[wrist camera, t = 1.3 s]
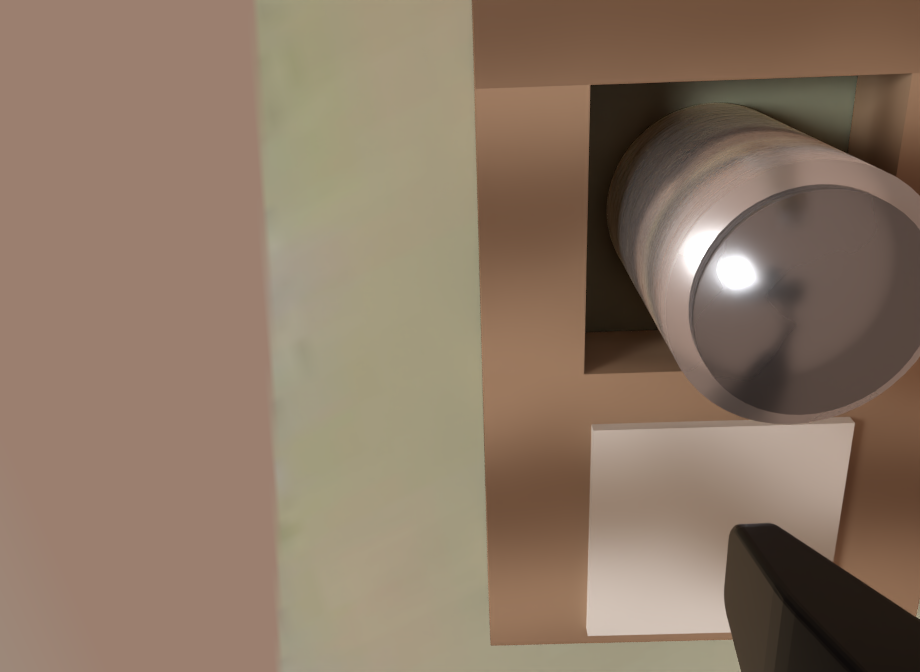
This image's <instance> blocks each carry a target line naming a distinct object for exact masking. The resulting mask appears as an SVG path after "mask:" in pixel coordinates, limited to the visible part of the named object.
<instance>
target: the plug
mask: <svg viewBox="0 0 920 672" xmlns="http://www.w3.org/2000/svg"><path fill="white" fill-rule="evenodd" d="M606 209H607V224H608V230H609V234H610V238H611V241H612V244H613V246H614V248H615V250H616V252H617V254H618V256H619V258H620V260H621V262H622V264H623V265H624V267H625V269H626V271H627V273H628V274H629V276H630V278H631V280H632V282H633V284H634V285H635V287H636V289H637V291H638V293H639V295H640V296H641V298H642V300H643V302H644V304H645V305H646V307H647V309H648V311H649V313H650V315H651V316H652V318H653V320H654V322H655V324H656V325H657V327H658V329H659V331H660V333H661V335H662V336H663V338H664V340H665V342H666V344H667V345H668V347H669V349H670V351H671V353H672V355H673V356H674V358H675V360H676V362H677V364H678V366H679V367H680V369H681V370H682V372H683V373H684V375H685V376H686V378H687V379H688V381H689V382H690V383H691V384H692V385H693V386H694V387H695V388H696V389H697V390H698V391H699V392H700V393H701V394H702V395H703V396H705V397H706V398H707V399H708V400H710V401H711V402H712V403H714V404H716V405H717V406H719V407H721V408H722V409H724V410H726V411H728V412H731V413H733V414H735V415H738V416H740V417H743V418H747V419H750V420H754V421H758V422H765V423H772V424H799V423H809V422H814V421H819V420H824V419H828V418H831V417H834V416H837V415H840V414H843V413H846V412H848V411H850V410H853V409H855V408H857V407H859V406H861V405H863V404H865V403H867V402H868V401H870V400H872V399H874V398H875V397H877V396H878V395H880V394H881V393H882V392H884V391H885V390H887V389H888V388H889V387H891V386H892V385H893V384H894V383H895V382H896V381H898V380H899V379H900V378H901V377H902V376H903V375H904V374H905V373H906V372H907V371H908V370H909V369H910V368H911V367H912V365H913V364H914V363H915V362H916V361H917V360H918V358H919V357H920V196H919V195H918V194H917V193H916V192H915V191H914V190H913V189H912V188H911V187H910V186H908V185H907V184H906V183H904V182H903V181H901V180H900V179H898V178H897V177H895V176H893V175H891V174H889V173H887V172H885V171H883V170H881V169H879V168H877V167H875V166H873V165H871V164H868V163H866V162H864V161H862V160H860V159H858V158H856V157H854V156H851V155H849V154H847V153H845V152H843V151H841V150H839V149H837V148H834V147H832V146H830V145H828V144H826V143H824V142H822V141H820V140H817V139H815V138H813V137H811V136H809V135H807V134H805V133H803V132H800V131H798V130H796V129H794V128H792V127H790V126H788V125H786V124H783V123H781V122H779V121H777V120H775V119H773V118H771V117H769V116H766V115H764V114H762V113H760V112H758V111H756V110H754V109H751V108H748V107H744V106H741V105H736V104H730V103H706V104H699V105H694V106H690V107H686V108H684V109H681V110H678V111H675V112H673V113H671V114H669V115H667V116H665V117H663V118H662V119H660V120H659V121H657V122H656V123H654V124H653V125H651V126H650V127H649V128H647V129H646V130H645V131H644V132H643V133H642V134H641V135H640V136H638V138H637V139H636V140H635V141H634V142H633V143H632V144H631V146H630V147H629V148H628V150H627V151H626V152H625V154H624V155H623V157H622V158H621V160H620V162H619V164H618V166H617V168H616V170H615V172H614V175H613V178H612V180H611V183H610V188H609V192H608V198H607V208H606Z"/></svg>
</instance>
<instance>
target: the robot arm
mask: <svg viewBox="0 0 920 672" xmlns="http://www.w3.org/2000/svg"><path fill="white" fill-rule="evenodd" d="M724 604H725V610H726V615H727V619H728V623H729V627H730V631H731V634H732V638H733V642H734V646H735V650H736V653H737V657H738V661H739V665H740V669H741V672H920V619H918V618H917V617H915V616H914V615H912V614H911V613H909V612H908V611H906V610H905V609H903V608H902V607H900V606H899V605H897V604H896V603H894V602H893V601H891V600H890V599H888V598H887V597H885V596H884V595H882V594H880V593H879V592H877V591H876V590H874V589H873V588H871V587H870V586H868V585H867V584H865V583H864V582H862V581H861V580H859V579H858V578H856V577H855V576H853V575H852V574H850V573H849V572H847V571H846V570H844V569H843V568H841V567H840V566H838V565H837V564H835V563H834V562H832V561H831V560H829V559H828V558H826V557H825V556H823V555H821V554H820V553H818V552H817V551H815V550H814V549H812V548H811V547H809V546H808V545H806V544H805V543H803V542H802V541H800V540H799V539H797V538H796V537H794V536H793V535H791V534H790V533H788V532H787V531H785V530H784V529H782V528H781V527H779V526H777V525H775V524H773V523H753V524H737V525H735V526H734V527H733V528H732V529H731V531H730V534H729V539H728V550H727V561H726V572H725V582H724Z"/></svg>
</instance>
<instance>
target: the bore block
mask: <svg viewBox="0 0 920 672" xmlns="http://www.w3.org/2000/svg"><path fill="white" fill-rule="evenodd" d="M472 19H473V55H474V91H475V127H476V163H477V199H478V234H479V270H480V306H481V342H482V378H483V414H484V450H485V486H486V522H487V557H488V590H489V615H490V640H491V645H531V644H571V643H611V642H651V641H691V640H731V639H733V638H732V634H731V631H730V627H729V623H728V619H727V615H726V610H725V604H724V582H725V572H726V561H727V550H728V539H729V534H730V531H731V529H732V528H733V527H734V526H735V525H737V524H753V523H773V524H775V525H777V526H779V527H781V528H782V529H784V530H785V531H787V532H788V533H790V534H791V535H793V536H794V537H796V538H797V539H799V540H800V541H802V542H803V543H805V544H806V545H808V546H809V547H811V548H812V549H814V550H815V551H817V552H818V553H820V554H821V555H823V556H825V557H826V558H828V559H829V560H831V561H832V562H834V563H835V564H837V565H838V566H840V567H841V568H843V569H844V570H846V571H847V572H849V573H850V574H852V575H853V576H855V577H856V578H858V579H859V580H861V581H862V582H864V583H865V584H867V585H868V586H870V587H871V588H873V589H874V590H876V591H877V592H879V593H880V594H882V595H884V596H885V597H887V598H888V599H890V600H891V601H893V602H894V603H896V604H897V605H899V606H900V607H902V608H903V609H905V610H906V611H908V612H909V613H911V614H912V615H914V616H915V617H916V614H917V609H918V604H919V599H920V357H919V358H918V360H917V361H916V362H915V363H914V364H913V365H912V367H911V368H910V369H909V370H908V371H907V372H906V373H905V374H904V375H903V376H902V377H901V378H900V379H899V380H898V381H896V382H895V383H894V384H893V385H892V386H891V387H889V388H888V389H887V390H885V391H884V392H882V393H881V394H880V395H878V396H877V397H875V398H874V399H872V400H870V401H868V402H867V403H865V404H863V405H861V406H859V407H857V408H855V409H853V410H850V411H848V412H846V413H843V414H840V415H837V416H834V417H831V418H828V419H824V420H819V421H814V422H809V423H799V424H772V423H765V422H758V421H754V420H750V419H747V418H743V417H740V416H738V415H735V414H733V413H731V412H728V411H726V410H724V409H722V408H721V407H719V406H717V405H716V404H714V403H712V402H711V401H710V400H708V399H707V398H706V397H705V396H703V395H702V394H701V393H700V392H699V391H698V390H697V389H696V388H695V387H694V386H693V385H692V384H691V383H690V382H689V381H688V379H687V378H686V376H685V375H684V373H683V372H682V370H681V369H680V367H679V366H678V364H677V362H676V360H675V358H674V356H673V355H672V353H671V351H670V349H669V347H668V345H667V344H666V342H665V340H664V338H663V336H662V335H661V333H660V331H659V330H642V331H610V332H585V308H586V261H587V215H588V168H589V122H590V85H601V84H629V83H657V82H684V81H712V80H740V79H768V78H796V77H824V76H852V75H858V79H857V86H856V94H855V101H854V109H853V116H852V123H851V131H850V138H849V146H848V153H847V154H849V155H851V156H854V157H856V158H858V159H860V160H862V161H864V162H866V163H868V164H871V165H873V166H875V167H877V168H879V169H881V170H883V171H885V172H887V173H889V174H891V175H893V176H895V177H897V178H898V179H900V180H901V181H903V182H904V183H906V184H907V185H908V186H910V187H911V188H912V189H913V190H914V191H915V192H916V193H917V194H918V195H919V196H920V0H472Z"/></svg>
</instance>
